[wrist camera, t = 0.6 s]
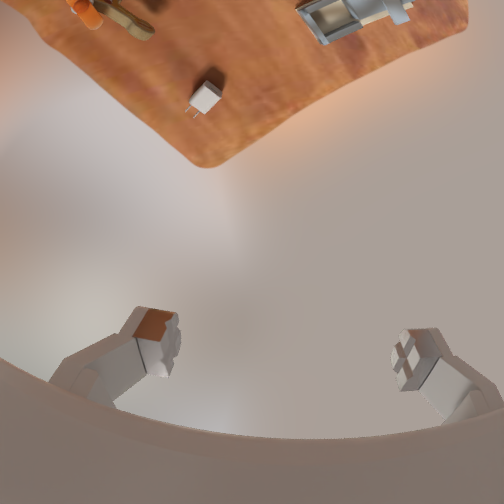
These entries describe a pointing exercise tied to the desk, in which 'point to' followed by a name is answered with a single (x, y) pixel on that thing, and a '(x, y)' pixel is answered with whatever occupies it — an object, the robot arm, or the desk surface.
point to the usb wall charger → (205, 97)
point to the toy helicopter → (110, 16)
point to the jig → (348, 16)
